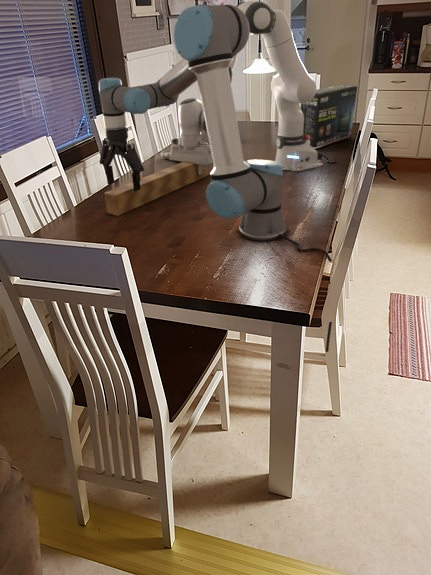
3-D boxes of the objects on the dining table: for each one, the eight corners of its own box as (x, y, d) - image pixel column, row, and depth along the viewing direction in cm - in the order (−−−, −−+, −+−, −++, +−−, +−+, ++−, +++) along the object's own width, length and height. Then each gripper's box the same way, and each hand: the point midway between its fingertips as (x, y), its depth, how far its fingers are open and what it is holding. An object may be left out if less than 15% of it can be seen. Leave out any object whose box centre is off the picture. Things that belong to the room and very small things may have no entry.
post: (117, 215, 166) (114, 195, 162) (107, 212, 169) (103, 192, 165) (208, 175, 204) (208, 157, 200) (198, 173, 207) (198, 156, 203)
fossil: (184, 156, 217) (163, 136, 220) (174, 174, 223) (154, 154, 227) (205, 153, 231) (186, 134, 234) (195, 171, 237) (176, 152, 240)
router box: (314, 151, 231) (318, 94, 217) (296, 148, 237) (299, 92, 224) (352, 138, 251) (358, 85, 238) (335, 135, 258) (340, 83, 245)
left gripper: (150, 129, 154) (155, 190, 165) (99, 121, 167) (108, 178, 178) (134, 133, 149) (141, 196, 160) (83, 125, 162) (93, 183, 173)
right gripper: (215, 141, 189) (216, 174, 196) (177, 136, 199) (179, 167, 206) (206, 145, 184) (207, 178, 191) (167, 139, 195) (170, 171, 202)
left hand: (124, 186), depth 169 cm, fingers open, 13 cm apart
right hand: (192, 172), depth 199 cm, fingers closed on post, 5 cm apart
